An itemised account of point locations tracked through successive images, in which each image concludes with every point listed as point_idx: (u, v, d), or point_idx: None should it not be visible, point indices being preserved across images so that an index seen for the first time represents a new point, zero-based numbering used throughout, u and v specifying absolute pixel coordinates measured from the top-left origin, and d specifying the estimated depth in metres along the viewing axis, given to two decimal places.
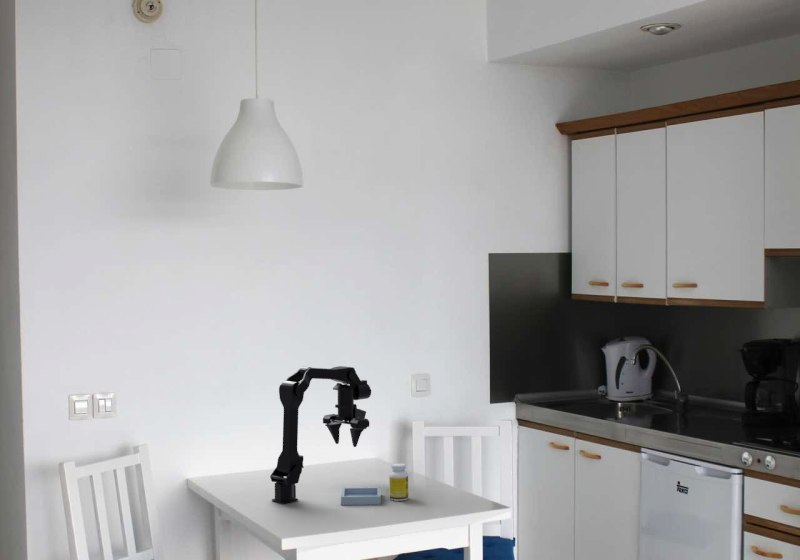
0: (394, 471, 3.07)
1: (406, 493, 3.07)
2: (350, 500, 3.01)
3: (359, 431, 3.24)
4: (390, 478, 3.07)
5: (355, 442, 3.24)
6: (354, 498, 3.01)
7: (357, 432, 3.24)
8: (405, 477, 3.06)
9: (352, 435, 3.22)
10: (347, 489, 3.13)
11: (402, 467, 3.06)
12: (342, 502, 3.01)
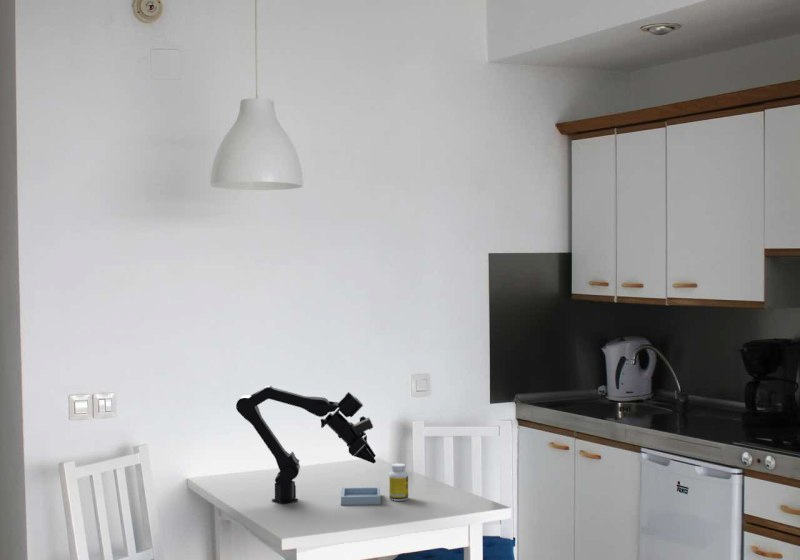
0: (394, 471, 3.07)
1: (406, 493, 3.07)
2: (350, 500, 3.01)
3: (364, 450, 3.02)
4: (390, 478, 3.07)
5: (370, 460, 3.03)
6: (354, 498, 3.01)
7: (364, 451, 3.02)
8: (405, 477, 3.06)
9: None
10: (347, 489, 3.13)
11: (402, 467, 3.06)
12: (342, 502, 3.01)
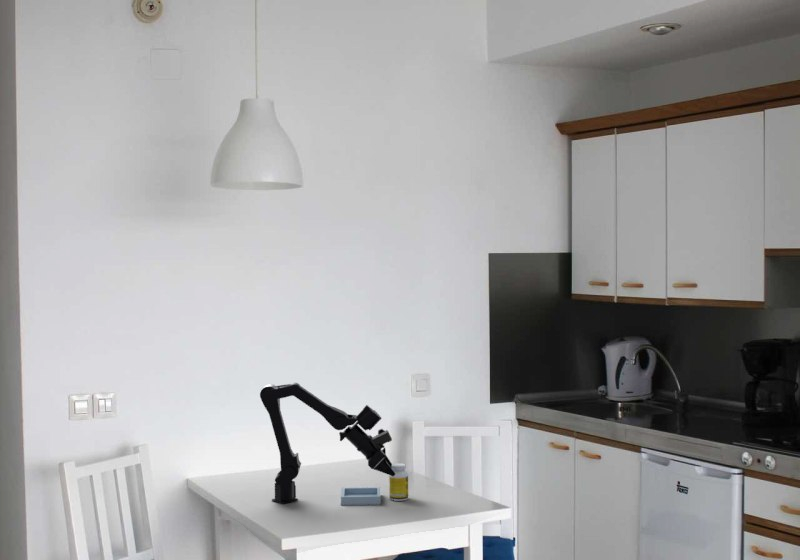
0: (394, 471, 3.07)
1: (406, 493, 3.07)
2: (350, 500, 3.01)
3: (384, 462, 3.02)
4: (390, 478, 3.07)
5: (390, 473, 3.03)
6: (354, 498, 3.01)
7: (383, 464, 3.02)
8: (405, 477, 3.06)
9: None
10: (347, 489, 3.13)
11: (402, 467, 3.06)
12: (342, 502, 3.01)
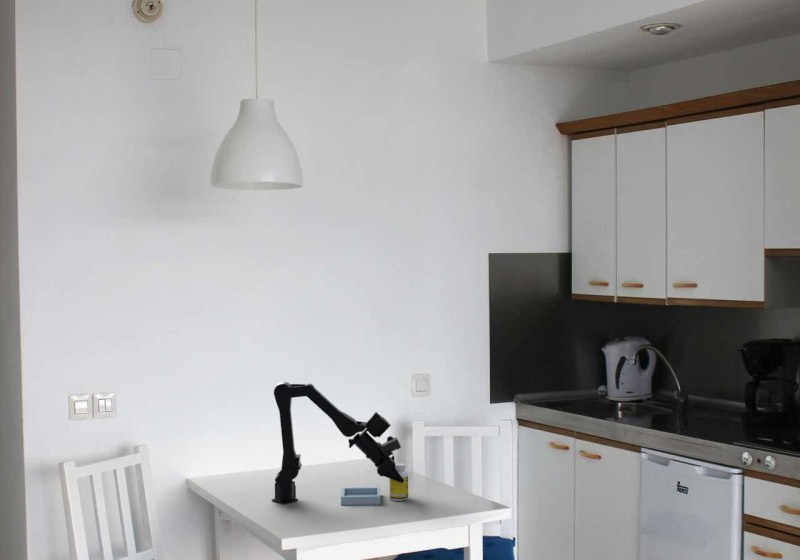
0: None
1: (406, 493, 3.07)
2: (350, 500, 3.01)
3: (393, 469, 3.03)
4: None
5: (398, 479, 3.04)
6: (354, 498, 3.01)
7: (392, 471, 3.04)
8: (405, 477, 3.06)
9: None
10: (347, 489, 3.13)
11: (402, 467, 3.06)
12: (342, 502, 3.01)
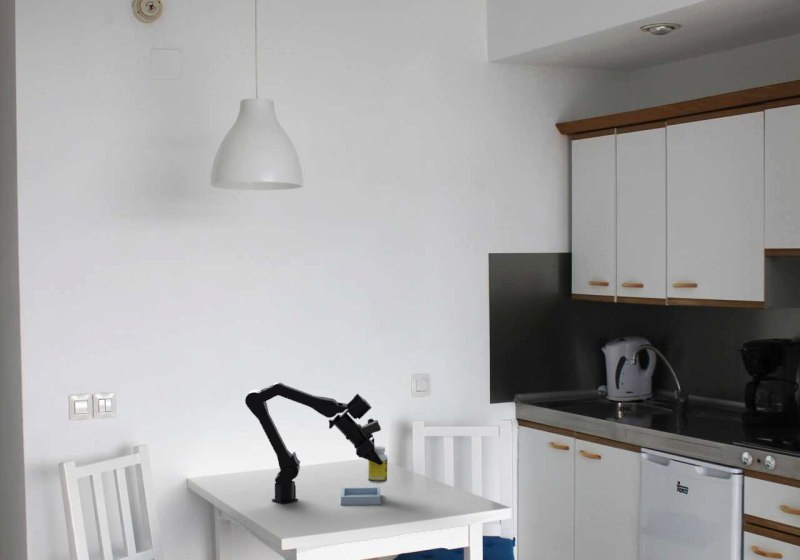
0: None
1: (385, 476, 3.06)
2: (350, 500, 3.01)
3: (372, 451, 3.03)
4: None
5: (377, 461, 3.04)
6: (354, 498, 3.01)
7: (371, 453, 3.03)
8: (384, 460, 3.06)
9: None
10: (347, 489, 3.13)
11: (382, 450, 3.06)
12: (342, 502, 3.01)
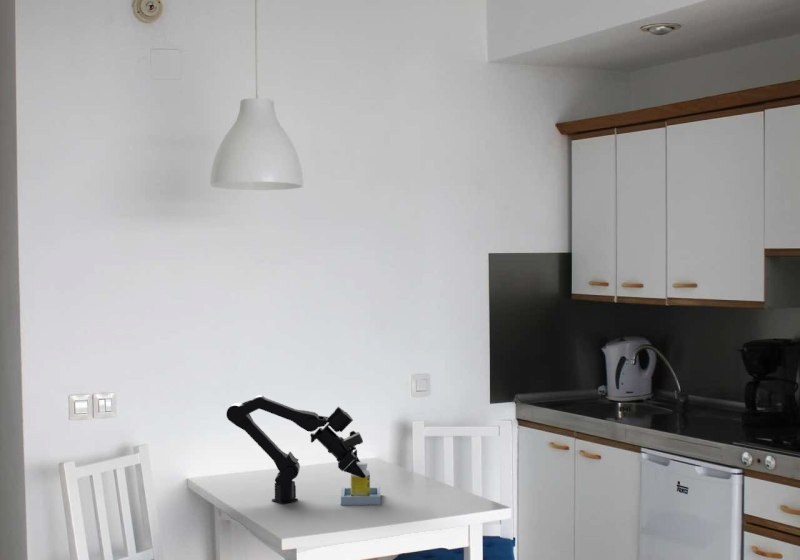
0: None
1: (367, 492, 3.06)
2: (350, 500, 3.01)
3: (354, 464, 3.02)
4: (351, 476, 3.06)
5: (360, 475, 3.03)
6: (354, 498, 3.01)
7: (353, 466, 3.02)
8: (366, 476, 3.06)
9: None
10: (347, 489, 3.13)
11: (364, 466, 3.06)
12: (342, 502, 3.01)
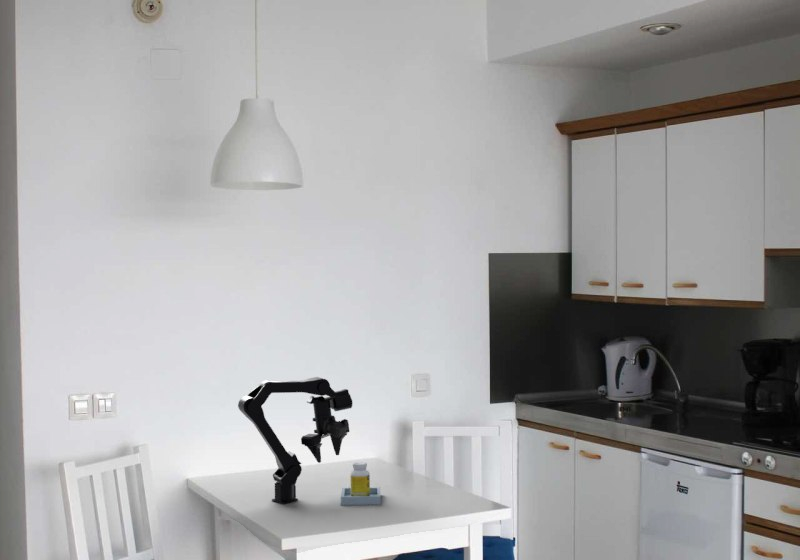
0: (355, 470, 3.06)
1: (367, 491, 3.06)
2: (350, 500, 3.01)
3: None
4: (351, 477, 3.06)
5: (316, 458, 3.10)
6: (354, 498, 3.01)
7: (315, 448, 3.09)
8: (366, 475, 3.06)
9: None
10: (347, 489, 3.13)
11: (363, 465, 3.06)
12: (342, 502, 3.01)
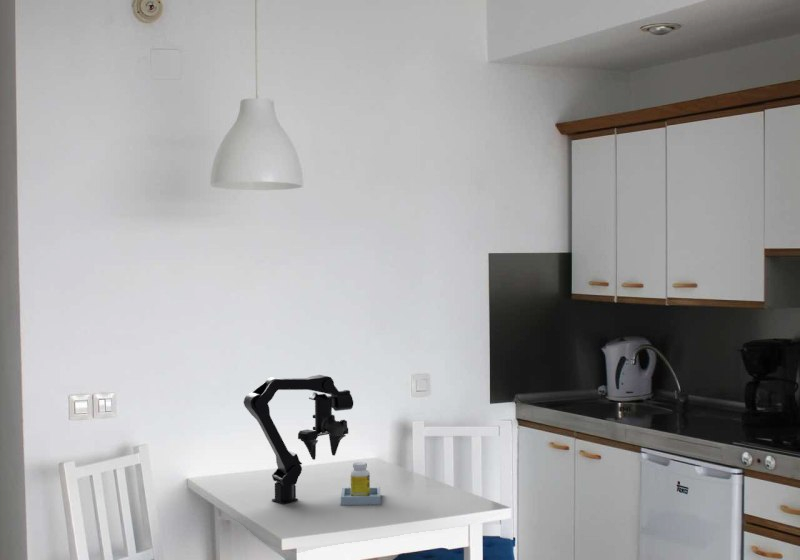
0: (356, 470, 3.06)
1: (367, 492, 3.06)
2: (350, 500, 3.01)
3: None
4: (351, 477, 3.06)
5: (311, 454, 3.11)
6: (354, 498, 3.01)
7: (311, 444, 3.10)
8: (366, 476, 3.06)
9: None
10: (347, 489, 3.13)
11: (363, 466, 3.06)
12: (342, 502, 3.01)
